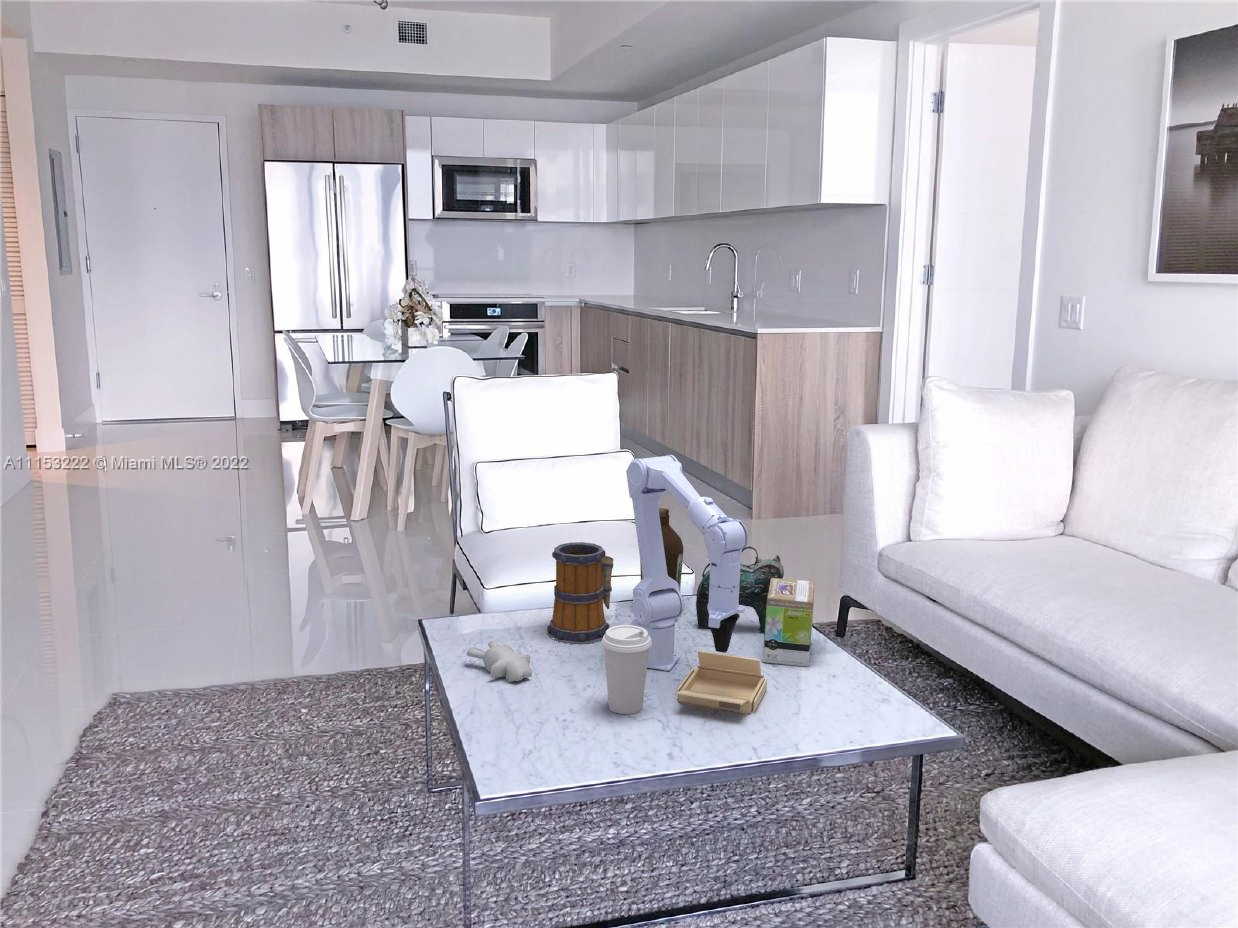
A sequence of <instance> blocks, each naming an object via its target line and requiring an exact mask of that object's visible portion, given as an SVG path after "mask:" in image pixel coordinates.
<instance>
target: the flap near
mask: <svg viewBox="0 0 1238 928" xmlns="http://www.w3.org/2000/svg"><path fill="white" fill-rule="evenodd" d="M677 694H679V695H686V696H692V697H698V698H704V699H710V700H717V701H723V702H729V703H735V704H741V705H742V704H744V703H746V702H747V700H740V699H734V698H728V697H722V696H715V695H709V694H703V693H697V692H690V691H684V690H682V691H679V692H677V691H676V695H677Z"/></svg>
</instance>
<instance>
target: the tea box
mask: <svg viewBox="0 0 1238 928" xmlns="http://www.w3.org/2000/svg"><path fill="white" fill-rule="evenodd" d="M814 598H815V581H812V580H811V581H810V580H803V579H802V580H800V579H799V580H797V579H786V578H783V579H778V578H771V580H770V586H769V592H768V598H767V606H766V621H765V633H764V638H763V639H764V642H763V654H762V662H763V663H768V664H777V665H786V666H797V667H809V664H810V654H811V642H812V635H813V634H812V633H813V631H812V630H813V618H814V617H813V616H814V603H815V601H814V600H815V599H814Z"/></svg>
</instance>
